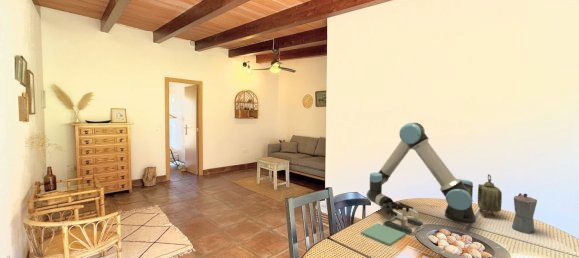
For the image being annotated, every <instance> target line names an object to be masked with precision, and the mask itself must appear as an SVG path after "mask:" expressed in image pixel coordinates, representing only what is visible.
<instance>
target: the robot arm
mask: <svg viewBox="0 0 579 258" xmlns="http://www.w3.org/2000/svg"><path fill="white" fill-rule="evenodd" d="M425 131H426V130H425V128H424V126H423V125H422V124H421V123H419V122H410V123H409V122H408V123H405V124H404V125H403V126H402V127H401V128H400V129H399V138H400V142H398V144H397V146H396V147H395V149H394V150H393V152H392V153H391V154H390V155H389V157H388V159H387V160H386V161H385V163H383V164H384V165H383V166H382V167H381V168H380V169H379V171H378V172H370V174H369V190H368V191H367V192H366V198H367V199H368V200H369V201H370V202H372V203H374V204H376V205H377V206H379V207H380V209H381V210H382V211H383V212H384V213H385V214H386V215H387V216H388V215H390V216H391V217H394V216H396V217H398V218H399V219H401V220H402V214H401V212H399V211H402V210H403V208H406V213H407V212H408V214H409V215H410V216H414V218H419V212H418V211H417V210H414V207H413V206H410V205H407V204H405V203H402V202H400V201H399V202H395V201H394V200H393V199H392V198H391V197H390V196H388V195H386V194H383V193H382V191H383V190H382V189H383V188H382V187H383V185H384V184H385V183H387V182H388V181H389V179H390V177H391V175H392V174H393V173H394V172H395V170H396V169H397V168H398V166H399V165H400V163H402V161H403V160H404V158H405V157H406V156H407V155H408V153H409V152H410V150H413V151H414V152H415V153H416V154H417V156H418V157H419V159H421V161H422V162H423V164H424V165H425V166H426V168H427V170H429V172H430V173H431V174H432V176H433V177H434V178H435V180H436V181H437V183H438V184H439V186H440V189H439V190H440V192H441V193H442V195H443V196H444V197H445V201H446V203H447V206H446V208H445V210H444V217H445V218H447V219H449V220H450V221H454V222H457V223H463V224H472V223H475V222H476V216H475V212H474V209H473V202H474V201H473V189H474V183H473V181H471V180H469V179H468V180H467V179H459V178H456V177H455V176H454V175H453V173H452V172H451V171H450V169H449V167H448V166H447V165H446V164H445V163H444V161H443V160H442V159H441V157H440V156H439V154H437V152H436V151H435V149H434V148H433V147H432V145H431V144H430V142H429V137H428V136H427V134H426V133H425Z"/></svg>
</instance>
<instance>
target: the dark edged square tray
mask: <svg viewBox="0 0 579 258" xmlns="http://www.w3.org/2000/svg"><path fill="white" fill-rule="evenodd" d="M396 220H398V221H400V222H402V220H401V219H399V218H394V217H393V218H390V219H388V220H385V221H384V222H382V225H384V226H387V227H390V228H392V229H395V230H398V231H401V232H403V233H406V235H409V236H411V237H412V236H414V231H415V230H413V229H412V228H410V227H407V226H406V227H404V226H402V224H398V223H395V222H394V221H396ZM407 220H408V222H407V223H406V224H409V225H413V226H416V227H418V226H421V225H424V222H423V221H421V220H419V219H418V218H417V219H416V218H414V220H412V219H407Z"/></svg>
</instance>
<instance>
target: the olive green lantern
mask: <svg viewBox="0 0 579 258" xmlns="http://www.w3.org/2000/svg"><path fill="white" fill-rule="evenodd" d="M477 187H478V188H477V206H478V207H479V211H480V212H482V211H485V212H484V213H485V214H483V218H487V217H488V216H487V214H488V213H489V212H490V215H491V216H495V213H498V212H501V211H502V203H503V201H502V200H503V198H502V195H503V193H502V191H501V189H500V188H499V187H498V186H496V185H495V184H494V183H493V182H492V175H491V174H487V181H486V182H485V183H483V184H478V186H477Z"/></svg>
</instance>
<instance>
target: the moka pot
mask: <svg viewBox="0 0 579 258" xmlns="http://www.w3.org/2000/svg"><path fill="white" fill-rule="evenodd" d="M537 204H538V200H537V199H535V198H533V197H531V196H528V194H527V193H523V194H522V193H518V195H515V196H514V197H513V206H514V213H515V214H514V218H513V222H512V226H511V227H512V228H513V230H515V231H517V232H520V233H523V234H529V235H530V234H531V235H532V234H534V233H535V231H536V230H535V223H534V222H535V221H534V215H535V211H536V206H537Z"/></svg>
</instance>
